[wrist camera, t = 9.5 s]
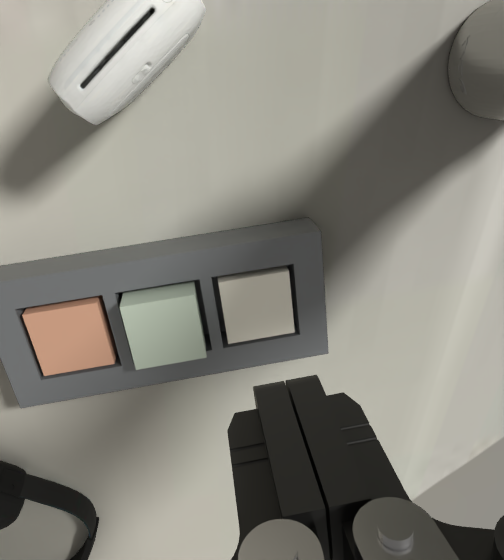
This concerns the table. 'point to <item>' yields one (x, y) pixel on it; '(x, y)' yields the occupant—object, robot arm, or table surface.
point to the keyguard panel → (153, 273)
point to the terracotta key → (71, 335)
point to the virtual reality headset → (44, 501)
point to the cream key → (256, 304)
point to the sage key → (163, 325)
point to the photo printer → (122, 53)
